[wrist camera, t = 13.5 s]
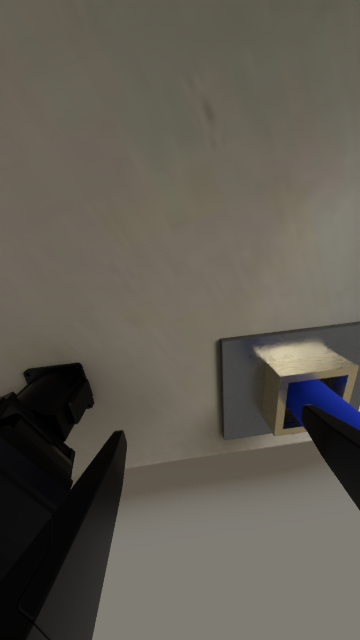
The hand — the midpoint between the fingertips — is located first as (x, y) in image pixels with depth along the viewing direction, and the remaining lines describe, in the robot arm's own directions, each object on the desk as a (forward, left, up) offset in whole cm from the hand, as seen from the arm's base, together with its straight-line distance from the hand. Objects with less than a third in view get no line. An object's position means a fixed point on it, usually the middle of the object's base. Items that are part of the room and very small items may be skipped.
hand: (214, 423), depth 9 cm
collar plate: (+14, -10, -13) cm, 22 cm away
